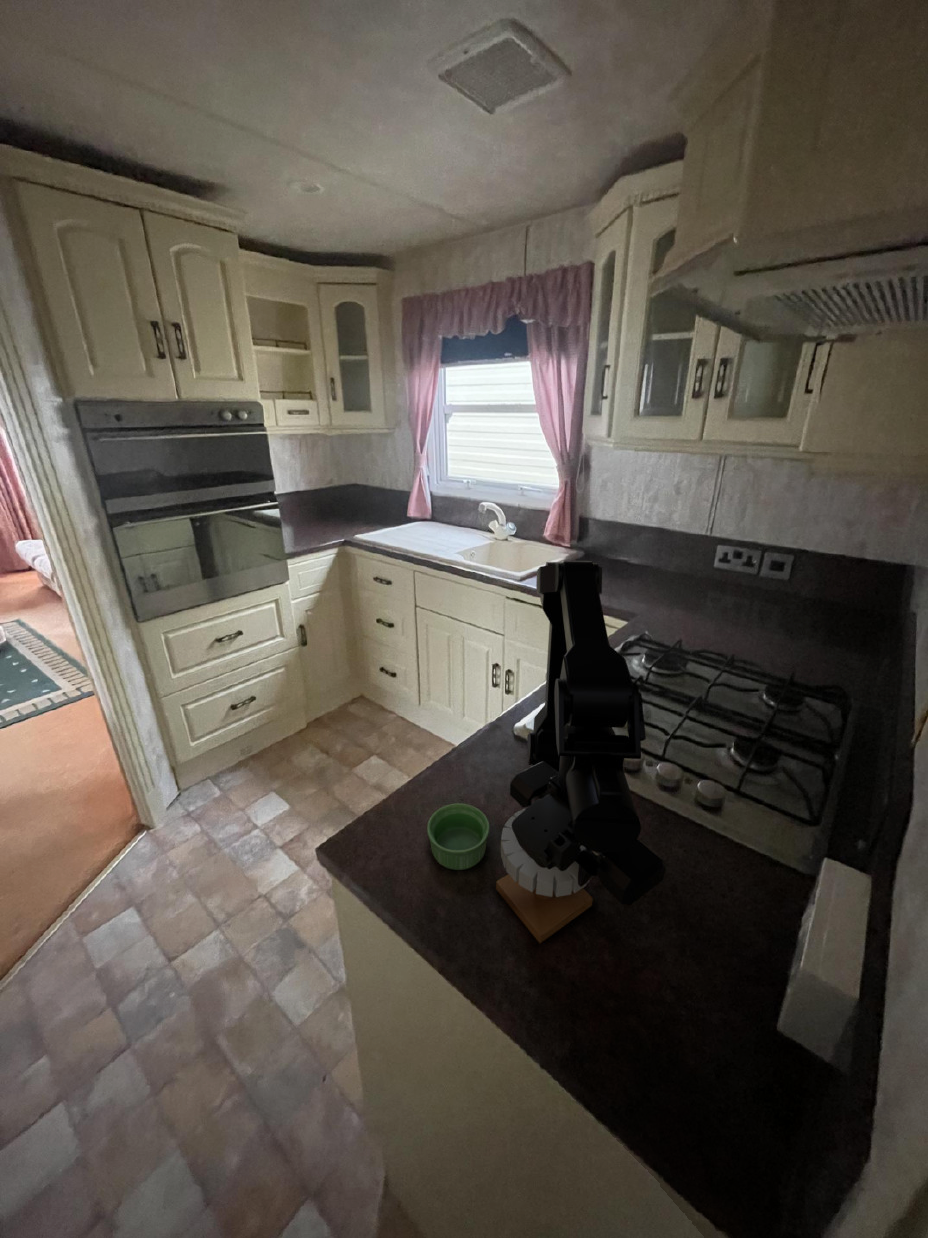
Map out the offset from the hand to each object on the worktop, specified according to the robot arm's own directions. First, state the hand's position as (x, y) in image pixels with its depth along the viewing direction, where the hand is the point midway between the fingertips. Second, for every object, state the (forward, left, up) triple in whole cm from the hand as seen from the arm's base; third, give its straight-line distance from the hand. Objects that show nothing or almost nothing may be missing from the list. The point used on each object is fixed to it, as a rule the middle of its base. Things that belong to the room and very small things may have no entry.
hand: (573, 875), depth 61 cm
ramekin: (-18, -5, -9) cm, 21 cm away
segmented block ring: (-5, 0, -1) cm, 5 cm away
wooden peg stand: (-5, 0, -9) cm, 10 cm away
